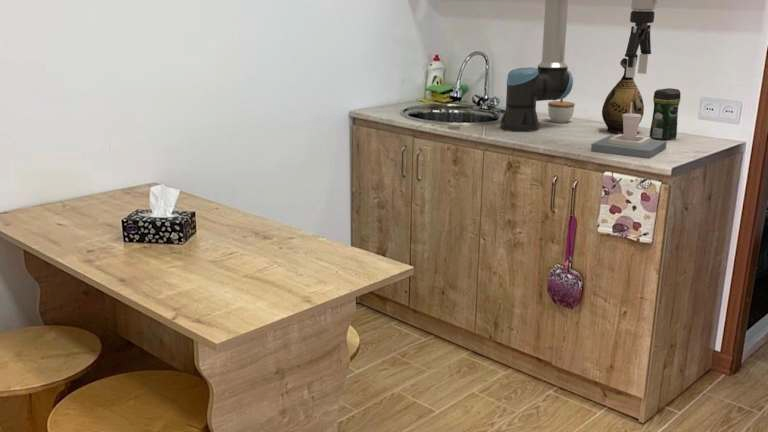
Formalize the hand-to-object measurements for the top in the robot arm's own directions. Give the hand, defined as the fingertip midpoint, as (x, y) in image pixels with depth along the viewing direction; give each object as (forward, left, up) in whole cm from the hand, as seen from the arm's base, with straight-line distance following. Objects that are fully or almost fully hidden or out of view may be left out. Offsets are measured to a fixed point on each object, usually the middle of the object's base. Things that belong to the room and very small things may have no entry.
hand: (636, 75), depth 260 cm
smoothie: (0, 0, -23) cm, 23 cm away
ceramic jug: (-13, +33, -26) cm, 44 cm away
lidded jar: (-41, +40, -26) cm, 63 cm away
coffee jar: (+4, +28, -26) cm, 38 cm away
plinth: (0, 0, -26) cm, 26 cm away
